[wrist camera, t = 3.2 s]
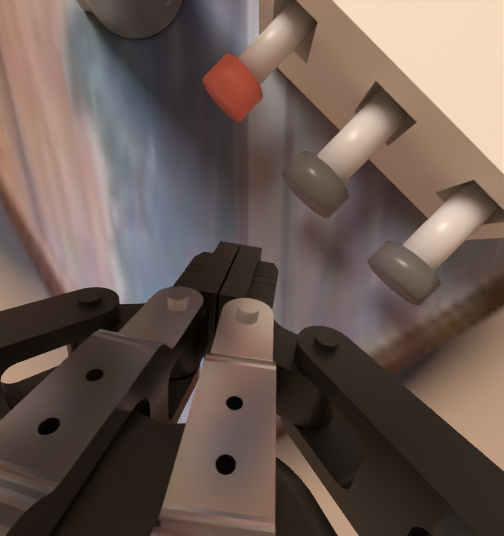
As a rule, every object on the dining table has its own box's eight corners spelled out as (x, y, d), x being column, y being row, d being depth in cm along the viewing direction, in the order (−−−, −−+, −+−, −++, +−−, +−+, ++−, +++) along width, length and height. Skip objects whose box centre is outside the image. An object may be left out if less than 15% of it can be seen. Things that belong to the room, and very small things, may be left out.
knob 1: (322, 221, 28) (335, 214, 23) (279, 179, 28) (284, 163, 23) (399, 143, 27) (430, 118, 22) (356, 99, 27) (378, 66, 22)
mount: (449, 240, 32) (563, 234, 20) (259, 49, 32) (259, -74, 20) (518, 173, 32) (676, 126, 20) (326, -22, 31) (368, -193, 19)
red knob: (241, 129, 27) (238, 108, 23) (206, 94, 27) (197, 67, 23) (323, 43, 27) (335, 7, 23) (288, 8, 27) (293, -35, 23)
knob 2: (401, 299, 28) (432, 310, 23) (359, 258, 28) (381, 260, 23) (479, 223, 28) (528, 217, 23) (437, 181, 27) (477, 166, 22)
